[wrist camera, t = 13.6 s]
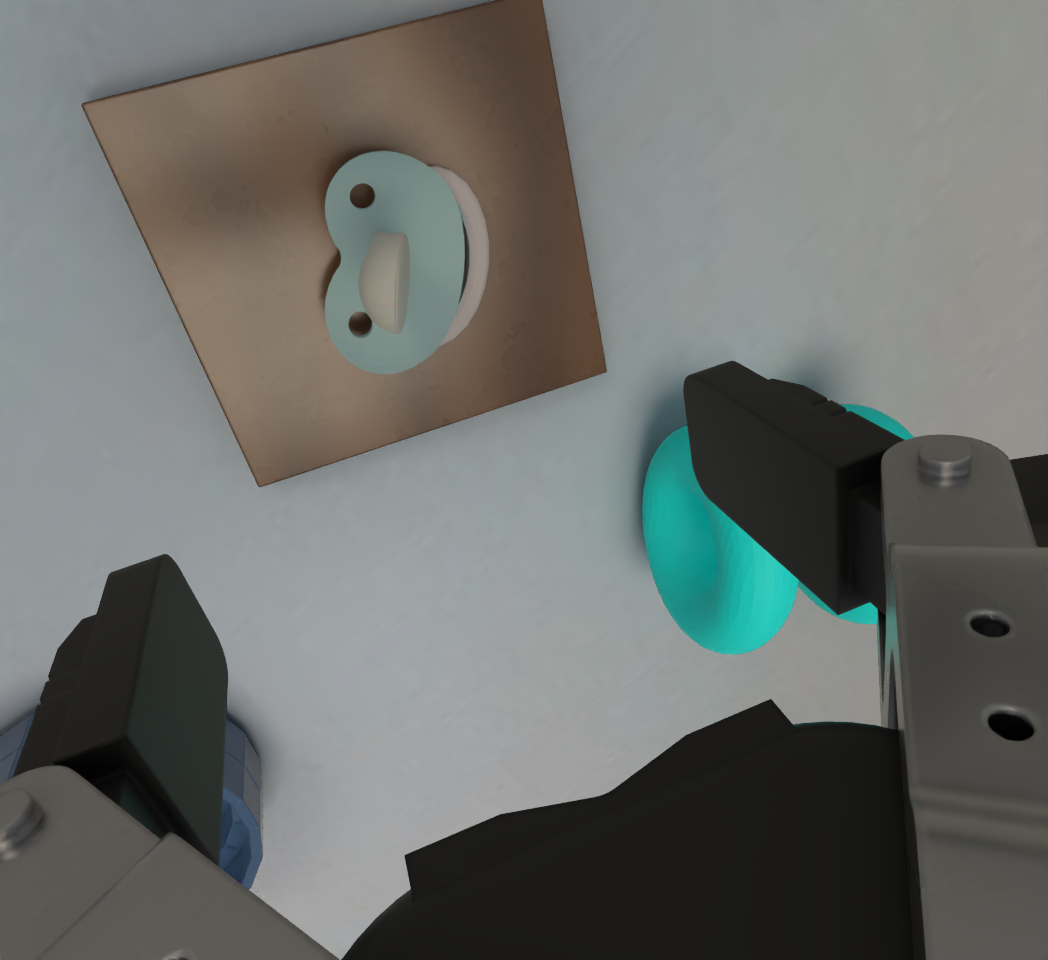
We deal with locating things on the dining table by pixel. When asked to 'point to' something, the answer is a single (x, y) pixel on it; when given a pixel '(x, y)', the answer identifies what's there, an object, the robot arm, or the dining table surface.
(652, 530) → the donuts
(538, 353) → the board
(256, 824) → the bowl
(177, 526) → the dining table surface
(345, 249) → the pacifier
